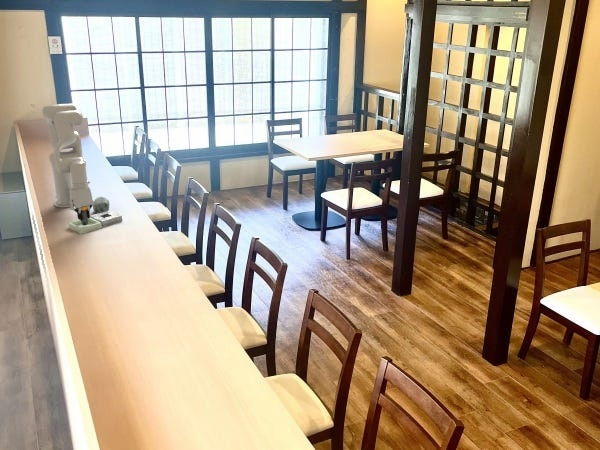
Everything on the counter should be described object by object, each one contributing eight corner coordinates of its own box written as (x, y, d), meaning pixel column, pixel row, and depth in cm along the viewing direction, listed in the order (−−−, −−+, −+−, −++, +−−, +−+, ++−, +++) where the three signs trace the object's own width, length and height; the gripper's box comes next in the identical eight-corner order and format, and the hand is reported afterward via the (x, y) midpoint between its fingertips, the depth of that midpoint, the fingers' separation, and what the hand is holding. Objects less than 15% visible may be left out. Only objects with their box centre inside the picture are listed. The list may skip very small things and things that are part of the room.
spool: (112, 210, 311) (102, 194, 308) (97, 219, 309) (87, 203, 307) (115, 207, 324) (105, 193, 322) (100, 216, 323) (90, 201, 320)
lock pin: (78, 224, 293) (76, 206, 290) (86, 222, 297) (84, 204, 293) (83, 226, 291) (80, 208, 287) (91, 224, 294) (89, 206, 290)
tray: (68, 227, 294) (67, 222, 293) (89, 221, 302) (88, 217, 301) (80, 233, 286) (80, 228, 285) (101, 227, 295) (101, 222, 294)
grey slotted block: (90, 221, 304) (89, 215, 302) (109, 215, 312) (109, 210, 311) (102, 226, 296) (101, 221, 295) (122, 220, 305) (121, 215, 304)
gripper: (90, 180, 294) (94, 213, 301) (60, 187, 282) (65, 221, 289) (98, 183, 290) (102, 216, 296) (68, 190, 278) (73, 224, 284)
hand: (84, 218), depth 293 cm, fingers closed on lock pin, 3 cm apart
